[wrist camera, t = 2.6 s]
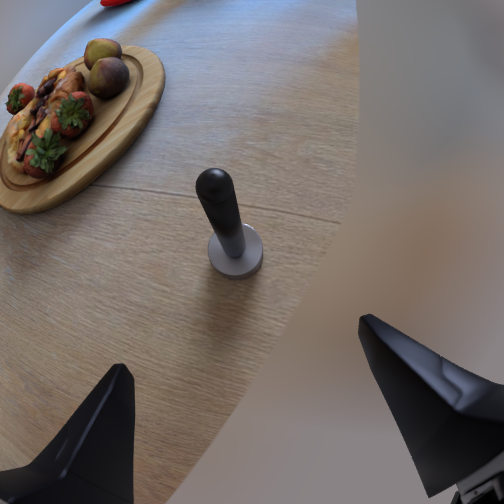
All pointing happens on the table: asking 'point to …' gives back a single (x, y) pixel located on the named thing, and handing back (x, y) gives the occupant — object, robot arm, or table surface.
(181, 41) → the table surface
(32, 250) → the table surface
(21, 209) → the wooden plate
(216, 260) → the coffee tamper
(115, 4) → the red vase
